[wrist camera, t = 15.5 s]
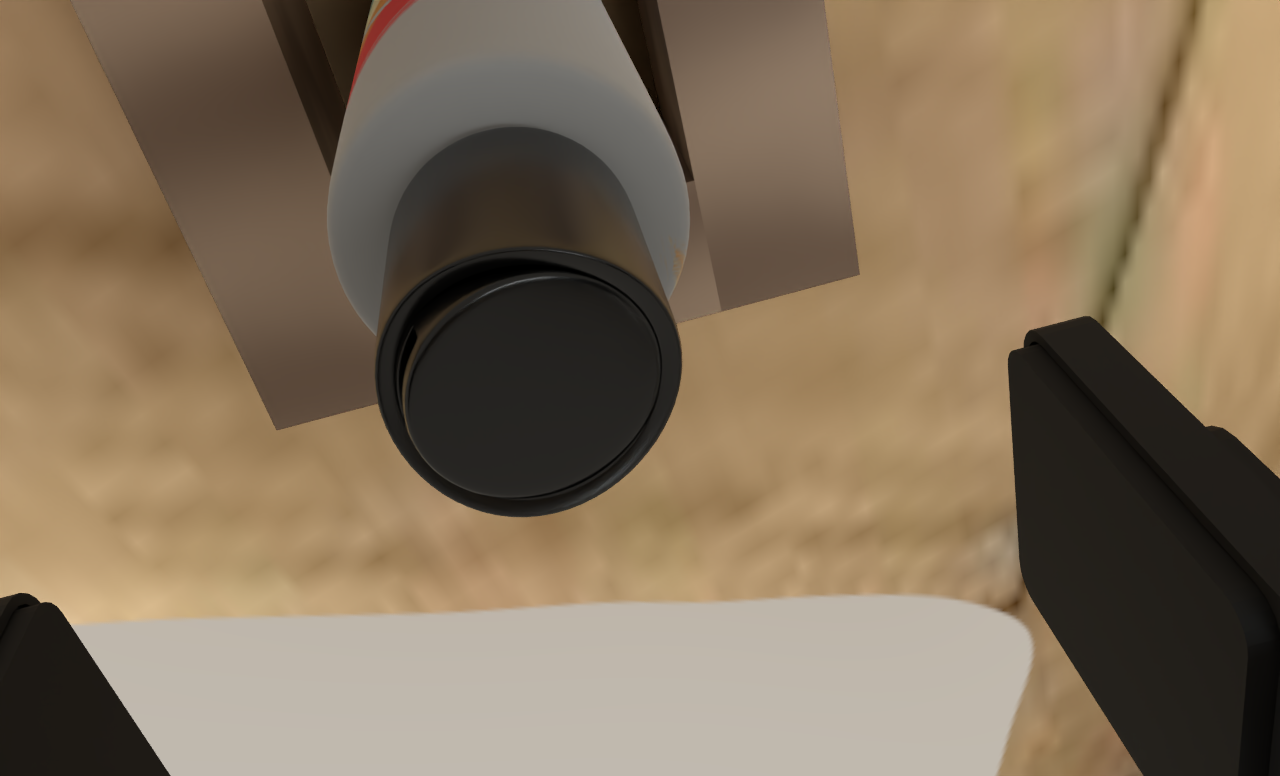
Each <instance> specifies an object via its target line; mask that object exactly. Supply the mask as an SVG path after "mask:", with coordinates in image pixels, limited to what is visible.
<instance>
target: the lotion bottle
mask: <svg viewBox="0 0 1280 776" xmlns="http://www.w3.org/2000/svg"><path fill="white" fill-rule="evenodd" d="M689 229H690V211H689V198H688V191H687V185H686V181H685V177H684V173H683V169H682V167H681V164H680V161H679V158H678V156H677V153H676V150H675V148H674V145H673V143H672V141H671V139H670V136H669V134H668V132H667V130H666V128H665V126H664V124H663V122H662V120H661V118H660V116H659V114H658V112H657V110H656V108H655V106H654V104H653V102H652V100H651V98H650V96H649V94H648V92H647V90H646V88H645V86H644V84H643V82H642V80H641V78H640V76H639V74H638V72H637V70H636V68H635V66H634V64H633V62H632V60H631V58H630V57H629V55H628V53H627V51H626V49H625V47H624V45H623V43H622V41H621V39H620V37H619V35H618V33H617V31H616V29H615V27H614V25H613V23H612V21H611V19H610V17H609V15H608V13H607V11H606V9H605V8H604V6H603V4H602V2H601V0H372V3H371V8H370V12H369V16H368V20H367V24H366V29H365V33H364V37H363V41H362V45H361V49H360V54H359V58H358V62H357V66H356V70H355V74H354V79H353V83H352V87H351V91H350V95H349V100H348V104H347V108H346V112H345V116H344V120H343V125H342V129H341V133H340V138H339V142H338V147H337V151H336V156H335V160H334V165H333V169H332V174H331V180H330V186H329V195H328V204H327V231H328V240H329V246H330V250H331V255H332V259H333V264H334V267H335V270H336V273H337V276H338V279H339V281H340V283H341V286H342V288H343V290H344V292H345V294H346V296H347V298H348V300H349V301H350V303H351V305H352V306H353V308H354V310H355V311H356V313H357V314H358V315H359V317H360V318H361V319H362V321H363V322H364V323H365V324H366V326H367V327H368V328H369V329H370V330H371V331H372V332H373V333H374V335H375V336H376V343H375V353H374V383H375V391H376V397H377V402H378V405H379V409H380V412H381V416H382V418H383V421H384V423H385V426H386V428H387V430H388V432H389V434H390V436H391V438H392V440H393V442H394V443H395V445H396V446H397V448H398V450H399V451H400V453H401V454H402V455H403V457H404V458H405V459H406V461H407V462H408V463H409V464H410V466H411V467H412V468H413V469H414V470H415V471H416V472H417V473H418V474H419V475H420V476H421V477H422V478H423V479H424V480H425V481H427V482H428V483H429V484H430V485H431V486H433V487H434V488H435V489H437V490H438V491H440V492H441V493H442V494H444V495H446V496H447V497H449V498H451V499H453V500H454V501H456V502H458V503H461V504H463V505H465V506H467V507H470V508H473V509H476V510H479V511H482V512H485V513H490V514H494V515H500V516H508V517H533V516H542V515H548V514H553V513H557V512H561V511H564V510H568V509H570V508H573V507H576V506H578V505H581V504H583V503H585V502H587V501H589V500H591V499H593V498H595V497H597V496H598V495H600V494H602V493H603V492H605V491H607V490H608V489H609V488H611V487H612V486H614V485H615V484H616V483H618V482H619V481H620V480H621V479H622V478H624V477H625V476H626V475H627V474H628V473H629V472H630V471H631V470H632V469H633V468H634V467H635V466H636V465H637V464H638V463H639V462H640V461H641V460H642V459H643V458H644V456H645V455H646V454H647V453H648V452H649V450H650V449H651V447H652V446H653V445H654V443H655V442H656V440H657V439H658V437H659V436H660V434H661V432H662V431H663V429H664V427H665V425H666V423H667V421H668V419H669V417H670V415H671V412H672V409H673V407H674V404H675V401H676V398H677V394H678V391H679V386H680V380H681V373H682V349H681V341H680V336H679V332H678V329H677V325H676V322H675V319H674V316H673V313H672V311H671V308H670V305H669V303H668V300H669V299H670V297H671V295H672V293H673V291H674V289H675V287H676V285H677V282H678V279H679V277H680V274H681V272H682V269H683V265H684V261H685V258H686V253H687V247H688V241H689Z"/></svg>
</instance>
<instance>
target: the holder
mask: <svg viewBox="0 0 1280 776" xmlns="http://www.w3.org/2000/svg"><path fill="white" fill-rule="evenodd" d="M70 1H71V3H72V5H73V8H74V10H75V12H76V14H77V16H78V18H79V20H80V22H81V24H82V26H83V28H84V30H85V33H86V35H87V37H88V39H89V41H90V43H91V45H92V47H93V49H94V51H95V53H96V55H97V57H98V60H99V62H100V64H101V66H102V68H103V70H104V72H105V74H106V76H107V78H108V80H109V82H110V85H111V87H112V89H113V91H114V93H115V95H116V97H117V99H118V101H119V103H120V105H121V107H122V109H123V112H124V114H125V116H126V118H127V120H128V122H129V124H130V126H131V128H132V130H133V132H134V134H135V137H136V139H137V141H138V143H139V145H140V147H141V149H142V151H143V153H144V155H145V157H146V159H147V162H148V164H149V166H150V168H151V170H152V172H153V174H154V176H155V178H156V180H157V182H158V184H159V186H160V189H161V191H162V193H163V195H164V197H165V199H166V201H167V203H168V205H169V207H170V209H171V211H172V214H173V216H174V218H175V220H176V222H177V224H178V226H179V228H180V230H181V232H182V234H183V236H184V238H185V241H186V243H187V245H188V247H189V249H190V251H191V253H192V255H193V257H194V259H195V261H196V263H197V266H198V268H199V270H200V272H201V274H202V276H203V278H204V280H205V282H206V284H207V286H208V288H209V291H210V293H211V295H212V297H213V299H214V301H215V303H216V305H217V307H218V309H219V311H220V313H221V315H222V318H223V320H224V322H225V324H226V326H227V328H228V330H229V332H230V334H231V336H232V338H233V340H234V343H235V345H236V347H237V349H238V351H239V353H240V355H241V357H242V359H243V361H244V363H245V365H246V367H247V370H248V372H249V374H250V376H251V378H252V380H253V382H254V384H255V386H256V388H257V390H258V392H259V395H260V397H261V399H262V401H263V403H264V405H265V407H266V409H267V411H268V413H269V415H270V417H271V420H272V422H273V424H274V426H275V428H276V430H280V429H284V428H288V427H291V426H295V425H299V424H303V423H306V422H310V421H314V420H318V419H321V418H325V417H329V416H333V415H336V414H340V413H344V412H348V411H351V410H355V409H359V408H363V407H366V406H370V405H374V404H378V402H377V397H376V391H375V383H374V353H375V343H376V336H375V335H374V333H373V332H372V331H371V330H370V329H369V328H368V327H367V326H366V324H365V323H364V322H363V321H362V319H361V318H360V317H359V315H358V314H357V313H356V311H355V310H354V308H353V306H352V305H351V303H350V301H349V300H348V298H347V296H346V294H345V292H344V290H343V288H342V286H341V283H340V281H339V279H338V276H337V273H336V270H335V267H334V264H333V259H332V255H331V250H330V246H329V240H328V231H327V204H328V195H329V186H330V180H331V174H332V169H333V165H334V160H335V156H336V151H337V147H338V142H339V138H340V133H341V129H342V125H343V120H344V116H345V112H346V109H345V106H344V104H343V101H342V98H341V95H340V93H339V90H338V87H337V85H336V82H335V79H334V77H333V74H332V71H331V69H330V66H329V63H328V60H327V58H326V55H325V52H324V50H323V47H322V44H321V42H320V39H319V36H318V34H317V31H316V28H315V25H314V23H313V20H312V17H311V15H310V12H309V9H308V7H307V4H306V1H305V0H70ZM637 4H638V8H639V13H640V17H641V22H642V27H643V31H644V36H645V40H646V45H647V50H648V54H649V59H650V63H651V68H652V73H653V77H654V82H655V87H656V91H657V96H658V100H659V105H660V110H661V114H662V118H661V120H662V122H663V124H664V126H665V128H666V130H667V132H668V134H669V136H670V139H671V141H672V143H673V145H674V148H675V150H676V153H677V156H678V158H679V161H680V164H681V167H682V169H683V173H684V177H685V181H686V185H687V191H688V198H689V211H690V229H689V241H688V247H687V253H686V258H685V261H684V265H683V269H682V272H681V274H680V277H679V279H678V282H677V285H676V287H675V289H674V291H673V293H672V295H671V297H670V299H669V300H668V303H669V305H670V308H671V311H672V313H673V316H674V319H675V322H676V324H677V323H681V322H684V321H688V320H692V319H696V318H699V317H703V316H707V315H711V314H714V313H718V312H722V311H725V310H729V309H733V308H737V307H740V306H744V305H748V304H752V303H755V302H759V301H763V300H767V299H770V298H774V297H778V296H782V295H785V294H789V293H793V292H797V291H800V290H804V289H808V288H812V287H815V286H819V285H823V284H827V283H830V282H834V281H838V280H841V279H845V278H849V277H853V276H856V275H860V273H859V266H858V258H857V250H856V243H855V235H854V227H853V219H852V212H851V204H850V196H849V189H848V181H847V173H846V166H845V158H844V150H843V143H842V135H841V127H840V120H839V112H838V104H837V97H836V89H835V81H834V73H833V66H832V58H831V50H830V43H829V35H828V27H827V20H826V12H825V4H824V0H637Z"/></svg>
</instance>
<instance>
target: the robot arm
mask: <svg viewBox="0 0 1280 776" xmlns="http://www.w3.org/2000/svg"><path fill="white" fill-rule="evenodd" d="M1008 375H1009V391H1010V408H1011V425H1012V442H1013V458H1014V475H1015V492H1016V509H1017V525H1018V542H1019V559H1020V567H1021V572H1022V576H1023V579H1024V582H1025V585H1026V588H1027V590H1028V592H1029V595H1030V597H1031V598H1032V600H1033V602H1034V603H1035V605H1036V607H1037V608H1038V610H1039V611H1040V613H1041V615H1042V616H1043V618H1044V619H1045V621H1046V622H1047V624H1048V626H1049V627H1050V629H1051V630H1052V632H1053V633H1054V635H1055V637H1056V638H1057V640H1058V641H1059V643H1060V645H1061V646H1062V648H1063V649H1064V651H1065V652H1066V654H1067V656H1068V657H1069V659H1070V660H1071V662H1072V663H1073V665H1074V667H1075V668H1076V670H1077V671H1078V673H1079V675H1080V676H1081V678H1082V679H1083V681H1084V682H1085V684H1086V686H1087V687H1088V689H1089V690H1090V692H1091V694H1092V695H1093V697H1094V698H1095V700H1096V701H1097V703H1098V705H1099V706H1100V708H1101V709H1102V711H1103V712H1104V714H1105V716H1106V717H1107V719H1108V720H1109V722H1110V724H1111V725H1112V727H1113V728H1114V730H1115V731H1116V733H1117V735H1118V736H1119V738H1120V739H1121V741H1122V742H1123V744H1124V746H1125V747H1126V749H1127V750H1128V752H1129V754H1130V755H1131V757H1132V758H1133V760H1134V761H1135V763H1136V765H1137V766H1138V768H1139V769H1140V771H1141V772H1142V774H1143V776H1280V479H1279V478H1278V477H1277V476H1276V475H1275V474H1274V473H1273V472H1272V471H1271V470H1270V469H1269V468H1268V467H1267V466H1266V465H1264V464H1263V463H1262V462H1261V461H1260V460H1259V459H1258V458H1257V457H1256V456H1255V455H1254V454H1253V453H1252V452H1251V451H1250V450H1249V449H1248V448H1247V447H1246V446H1244V445H1243V444H1242V443H1241V442H1240V441H1239V440H1238V439H1237V438H1236V437H1235V436H1233V435H1232V434H1231V433H1229V432H1228V431H1226V430H1225V429H1224V428H1220V427H1215V426H1208V427H1205V426H1204V425H1203V424H1202V423H1201V422H1200V421H1199V420H1198V419H1197V418H1196V417H1195V416H1194V415H1193V414H1192V413H1191V412H1189V411H1188V410H1187V409H1186V408H1185V407H1184V406H1183V405H1182V404H1181V403H1180V402H1179V401H1178V400H1177V399H1176V398H1175V397H1174V396H1173V395H1172V394H1171V393H1170V392H1169V391H1168V390H1167V389H1166V388H1165V387H1164V386H1163V385H1162V384H1161V383H1160V382H1159V381H1158V380H1157V379H1156V378H1155V377H1154V376H1153V375H1151V374H1150V373H1149V372H1148V371H1147V370H1146V369H1145V368H1144V367H1143V366H1142V365H1141V364H1140V363H1139V362H1138V361H1137V360H1136V359H1135V358H1134V357H1133V356H1132V355H1131V354H1130V353H1129V352H1128V351H1127V350H1126V349H1125V348H1124V347H1123V346H1122V345H1121V344H1120V343H1119V342H1118V341H1117V340H1116V339H1115V338H1113V337H1112V336H1111V335H1110V334H1109V333H1108V332H1107V331H1106V330H1105V329H1104V328H1103V327H1102V326H1101V325H1100V324H1099V323H1098V322H1097V321H1096V320H1094V319H1093V318H1091V317H1090V316H1083V317H1080V318H1076V319H1072V320H1068V321H1064V322H1060V323H1057V324H1053V325H1049V326H1045V327H1041V328H1037V329H1033V330H1030V331H1029V332H1028V333H1027V334H1026V336H1025V340H1024V348H1021V349H1017V350H1013V351H1011V353H1010V354H1009V358H1008ZM0 776H170V774H169V773H168V771H167V770H166V769H165V767H164V765H163V764H162V762H161V761H160V759H159V758H158V756H157V755H156V753H155V752H154V750H153V749H152V747H151V746H150V744H149V743H148V741H147V740H146V738H145V737H144V735H143V734H142V732H141V731H140V729H139V728H138V726H137V725H136V723H135V722H134V720H133V719H132V717H131V716H130V714H129V713H128V711H127V710H126V708H125V707H124V705H123V704H122V702H121V701H120V699H119V698H118V696H117V695H116V693H115V692H114V690H113V689H112V687H111V686H110V684H109V683H108V681H107V679H106V678H105V677H104V675H103V674H102V672H101V671H100V669H99V667H98V666H97V665H96V663H95V661H94V660H93V658H92V657H91V655H90V654H89V653H88V651H87V649H86V648H85V646H84V645H83V643H82V642H81V640H80V639H79V637H78V636H77V634H76V633H75V631H74V630H73V628H72V627H71V625H70V624H69V622H68V621H67V619H66V618H65V616H64V615H63V613H62V612H61V611H60V610H59V608H58V607H57V606H55V605H54V604H52V603H48V602H44V603H40V602H39V601H38V600H37V598H35V597H33V596H32V595H30V594H26V593H18V594H15V595H11V596H7V597H3V598H0Z"/></svg>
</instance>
